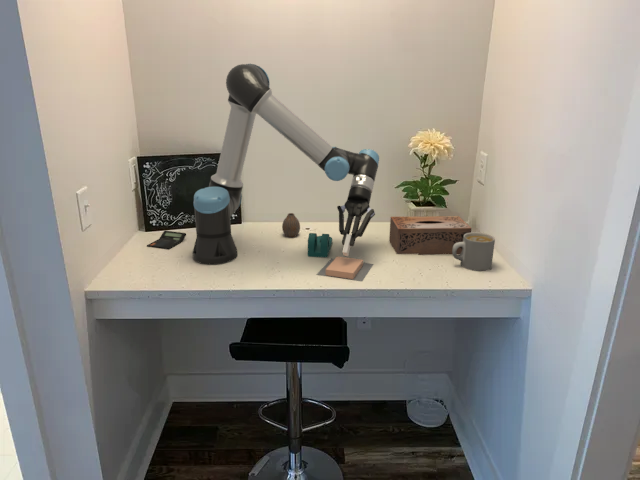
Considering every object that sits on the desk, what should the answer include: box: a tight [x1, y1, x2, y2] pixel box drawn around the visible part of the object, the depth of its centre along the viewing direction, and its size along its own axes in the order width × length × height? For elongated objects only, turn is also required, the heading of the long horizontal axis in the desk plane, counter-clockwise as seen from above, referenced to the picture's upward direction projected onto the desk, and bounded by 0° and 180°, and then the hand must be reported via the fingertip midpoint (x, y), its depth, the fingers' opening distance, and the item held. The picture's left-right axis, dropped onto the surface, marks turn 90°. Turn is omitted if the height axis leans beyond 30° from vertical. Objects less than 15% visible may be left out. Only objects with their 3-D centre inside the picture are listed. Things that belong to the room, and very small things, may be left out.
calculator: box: [146, 230, 187, 251], centre depth 187 cm, size 9×12×3 cm
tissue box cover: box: [388, 215, 472, 256], centre depth 183 cm, size 26×14×10 cm, turn 93°
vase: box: [281, 212, 301, 238], centre depth 195 cm, size 7×7×9 cm
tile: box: [326, 256, 364, 280], centre depth 163 cm, size 9×2×12 cm
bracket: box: [307, 232, 333, 258], centre depth 181 cm, size 18×7×8 cm, turn 172°
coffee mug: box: [451, 231, 496, 272], centre depth 167 cm, size 13×10×10 cm
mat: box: [316, 257, 375, 282], centre depth 164 cm, size 15×15×1 cm
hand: (345, 254), depth 161 cm, fingers closed
